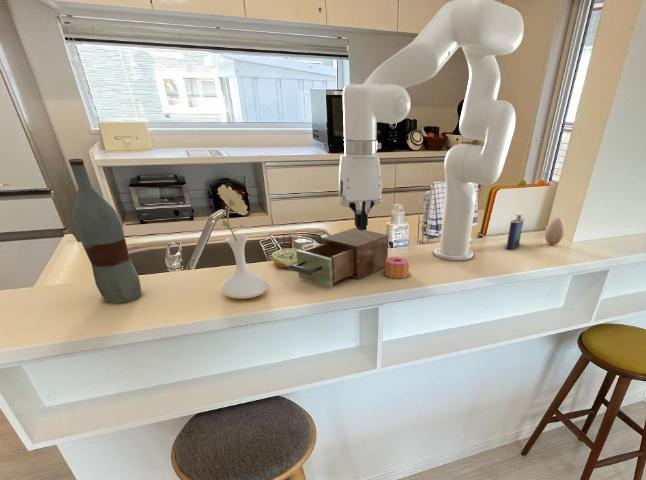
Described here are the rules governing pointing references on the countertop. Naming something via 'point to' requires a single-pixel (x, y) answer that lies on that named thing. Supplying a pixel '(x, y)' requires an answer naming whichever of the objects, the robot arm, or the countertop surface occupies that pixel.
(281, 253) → the decorated donut
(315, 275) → the drawer
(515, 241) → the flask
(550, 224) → the egg
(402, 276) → the donut
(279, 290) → the countertop surface
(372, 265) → the cabinet
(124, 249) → the bottle
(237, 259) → the flower in vase
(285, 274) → the countertop surface
